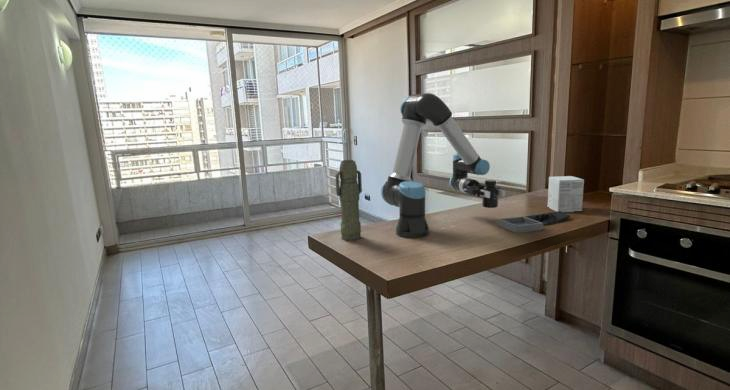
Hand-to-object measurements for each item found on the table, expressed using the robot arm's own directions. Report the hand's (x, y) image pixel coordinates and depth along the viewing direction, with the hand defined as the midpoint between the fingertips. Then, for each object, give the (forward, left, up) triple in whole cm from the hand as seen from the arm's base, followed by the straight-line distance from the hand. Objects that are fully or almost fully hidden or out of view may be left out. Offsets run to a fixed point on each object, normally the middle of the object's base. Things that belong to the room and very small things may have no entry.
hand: (496, 194), depth 175 cm
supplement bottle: (0, +5, -7) cm, 8 cm away
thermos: (-63, +17, -18) cm, 68 cm away
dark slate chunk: (+36, +10, -18) cm, 41 cm away
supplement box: (+59, +24, -18) cm, 66 cm away
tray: (+15, +3, -18) cm, 23 cm away
